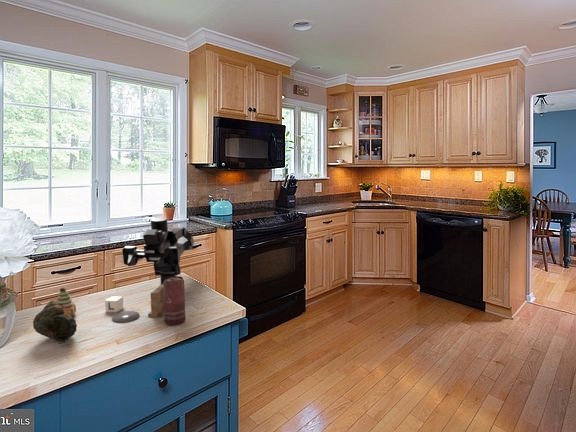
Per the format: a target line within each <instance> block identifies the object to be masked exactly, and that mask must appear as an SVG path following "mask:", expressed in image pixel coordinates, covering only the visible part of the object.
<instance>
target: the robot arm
mask: <svg viewBox="0 0 576 432" xmlns="http://www.w3.org/2000/svg"><path fill="white" fill-rule="evenodd" d="M142 238H143V241H144V245H143V249H138V247H137V246H136V245H126V246H124V247H123V248H122V251H121V252H122V258H123V259H122V261H123V264H124V265H125V266H127V267H133V266H136V265H137V264H138V262H139V258H145V259H146V262H147V263H153V269H154V270H153V271H154V275H155V276H160V285H162V284H163V282H164V279H165V278H167V277H172V276H179V275H181V270H182V269H181V266H180V262H181V256H182V255H183V253H184V252H185V251H190V250H191V249H193V247H194V242H195V240H194V237H193V234H192V233H190V231H188V230H187V227H184V226H182V227H181V226H175V227H173V228H172V229H170V230H169V226H168V218H167V217H165V216H159V217H155V218H150V229H146V230H145V232H144V233H143V235H142Z"/></svg>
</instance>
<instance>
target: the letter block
mask: <svg viewBox="0 0 576 432" xmlns="http://www.w3.org/2000/svg"><path fill="white" fill-rule="evenodd" d="M104 307H105V312H106V313H119V312H120V311H121V310H122V309H123V308H124V297H123V296H117V295H116V296H115V295H114V296H112V295H111V296H110V297H108V298H106V299H105V300H104Z"/></svg>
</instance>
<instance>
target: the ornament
mask: <svg viewBox="0 0 576 432" xmlns="http://www.w3.org/2000/svg"><path fill="white" fill-rule="evenodd" d="M57 295H58V296H57V297H56V298H53V299H51V300H50V301H52V300H53V301H54V302H55V303H57V304H58V305H59V306H61V307H62V308H64V312H65V313H64V315H68V316H71V317H72V318H73V319H74V316H75V315H76V312H77V306H76V304H75V303H74V302H72V301H73V298H72V297H71V294H69V292H68V291H67V289H66V288H64V287H62V288H59V292H58V294H57Z"/></svg>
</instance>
